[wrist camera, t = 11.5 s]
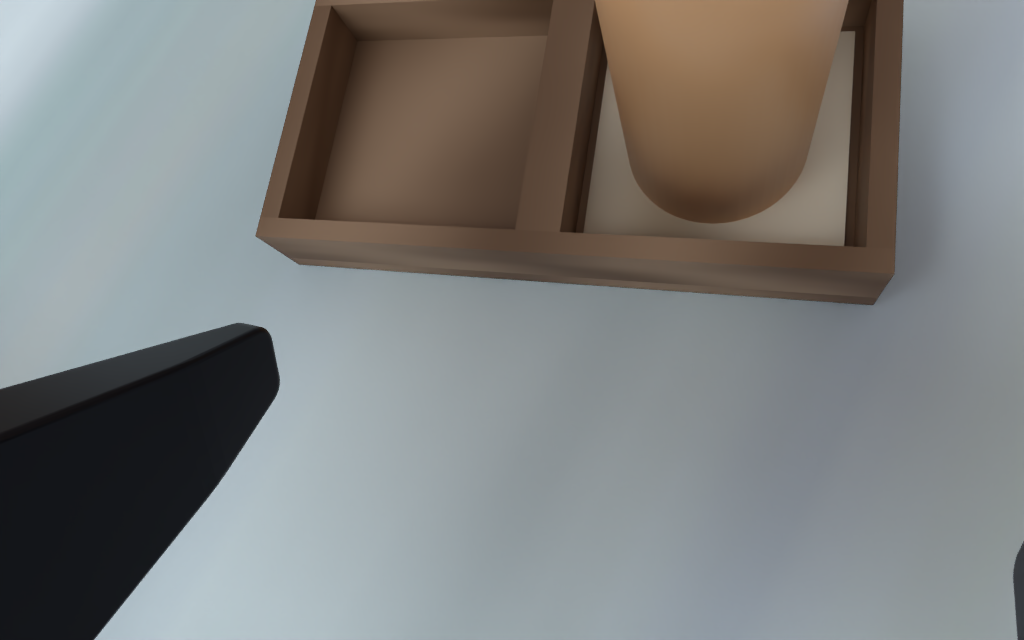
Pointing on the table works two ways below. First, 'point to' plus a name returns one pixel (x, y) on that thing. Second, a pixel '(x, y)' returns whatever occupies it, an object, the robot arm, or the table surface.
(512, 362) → the table surface
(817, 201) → the brown divided tray
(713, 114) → the tan rounded column
